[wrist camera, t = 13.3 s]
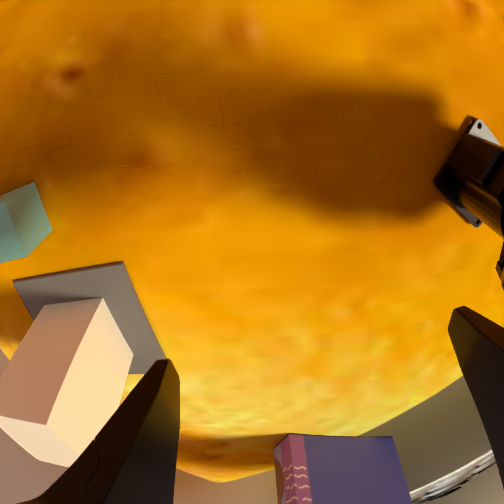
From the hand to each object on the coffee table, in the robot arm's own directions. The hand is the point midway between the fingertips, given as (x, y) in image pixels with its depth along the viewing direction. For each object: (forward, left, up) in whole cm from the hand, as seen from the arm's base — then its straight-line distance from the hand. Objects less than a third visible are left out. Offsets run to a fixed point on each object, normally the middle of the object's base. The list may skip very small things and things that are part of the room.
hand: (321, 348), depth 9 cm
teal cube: (+16, +10, -13) cm, 23 cm away
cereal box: (-27, +25, -13) cm, 39 cm away
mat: (+8, +18, -13) cm, 24 cm away
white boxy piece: (+8, +18, -13) cm, 24 cm away
